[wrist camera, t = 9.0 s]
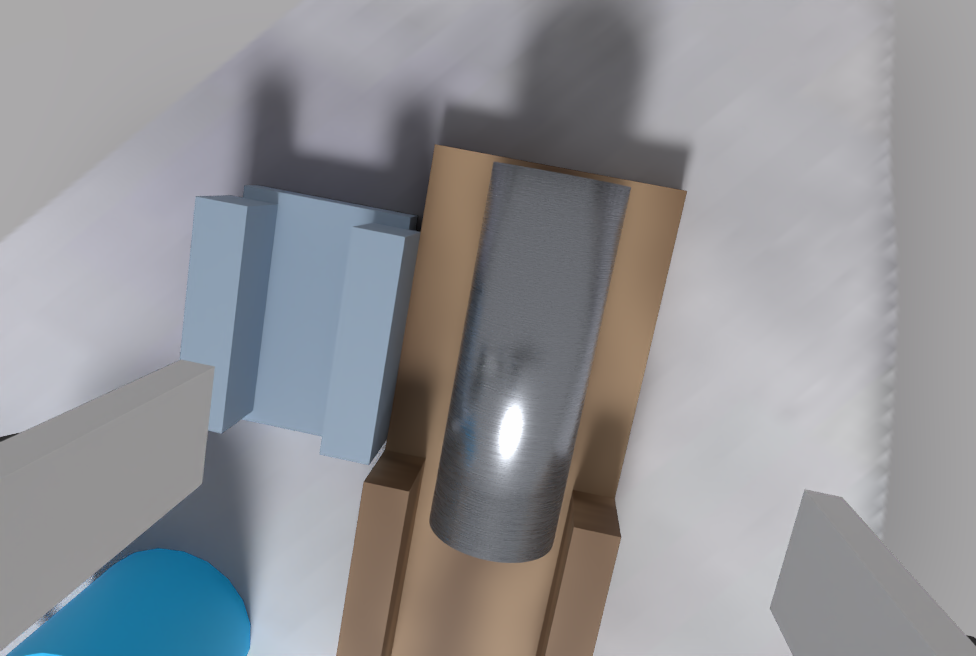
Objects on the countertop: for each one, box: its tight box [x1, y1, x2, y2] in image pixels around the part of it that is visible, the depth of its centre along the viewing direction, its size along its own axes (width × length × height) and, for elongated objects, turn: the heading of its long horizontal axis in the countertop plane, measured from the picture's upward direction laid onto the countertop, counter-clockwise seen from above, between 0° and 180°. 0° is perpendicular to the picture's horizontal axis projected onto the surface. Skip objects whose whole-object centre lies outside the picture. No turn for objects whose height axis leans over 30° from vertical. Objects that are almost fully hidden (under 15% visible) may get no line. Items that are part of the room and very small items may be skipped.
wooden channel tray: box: [336, 144, 687, 656], centre depth 30 cm, size 10×24×5 cm, turn 170°
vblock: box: [180, 185, 421, 465], centre depth 30 cm, size 8×10×4 cm
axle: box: [429, 162, 631, 563], centre depth 28 cm, size 14×5×5 cm, turn 170°
